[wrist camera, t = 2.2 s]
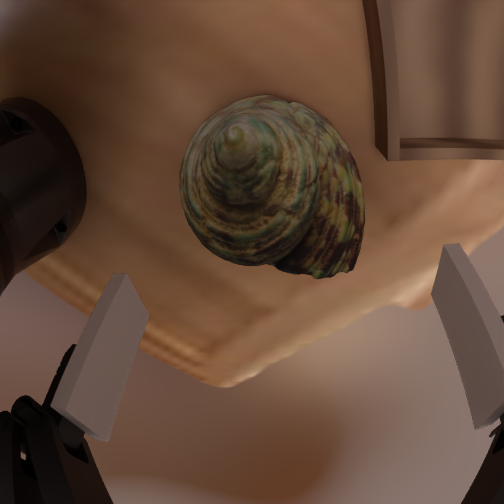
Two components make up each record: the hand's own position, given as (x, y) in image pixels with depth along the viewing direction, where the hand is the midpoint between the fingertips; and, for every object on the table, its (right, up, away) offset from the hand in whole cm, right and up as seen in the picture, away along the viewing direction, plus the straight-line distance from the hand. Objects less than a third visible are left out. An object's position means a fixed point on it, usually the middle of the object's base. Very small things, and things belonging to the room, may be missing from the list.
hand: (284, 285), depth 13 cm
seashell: (+1, +8, +9) cm, 12 cm away
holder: (+12, +20, -2) cm, 23 cm away
